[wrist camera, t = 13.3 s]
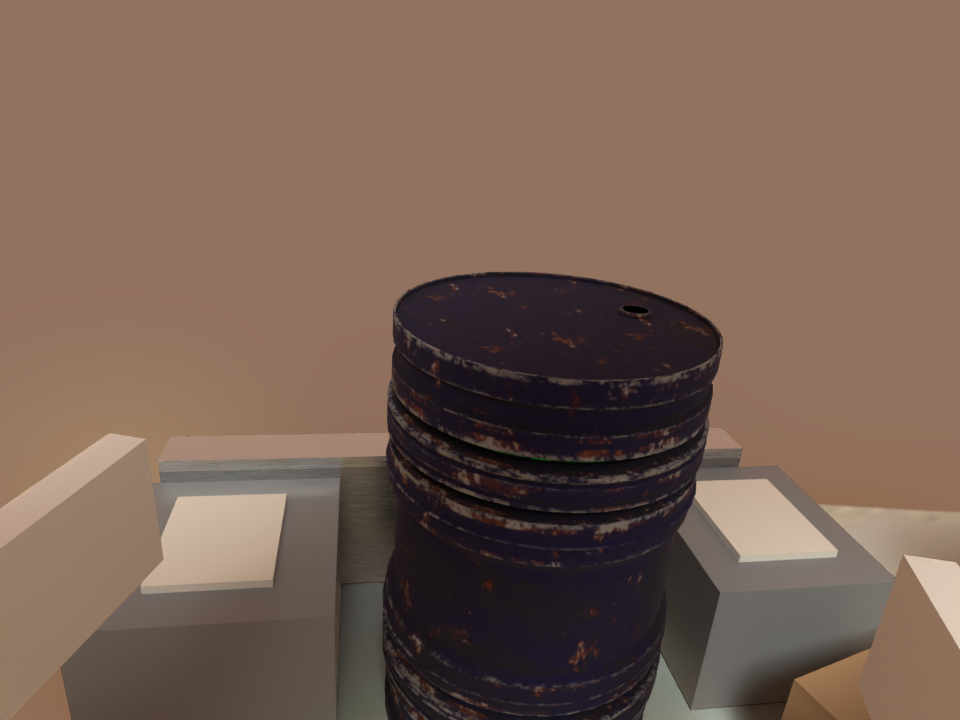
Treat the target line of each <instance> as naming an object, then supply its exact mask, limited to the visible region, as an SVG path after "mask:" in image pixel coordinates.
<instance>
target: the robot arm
mask: <svg viewBox="0 0 960 720" xmlns="http://www.w3.org/2000/svg"><path fill="white" fill-rule="evenodd" d="M163 560H164V557H163V550H162V543H161V537H160V530H159V523H158V516H157V509H156V503H155V496H154V489H153V482H152V475H151V469H150V462H149V456H148V449H147V441H146V439H143V438H136V437H129V436H123V435H116V434H110V433H109V434H108V435H106V436H105V437H103V438H102V439H100V440H99V441H97V442H96V443H94V444H93V445H91V446H90V447H89V448H87V449H86V450H84V451H83V452H81V453H80V454H78V455H77V456H75V457H74V458H72V459H71V460H70V461H68V462H67V463H65V464H64V465H62V466H61V467H59V468H58V469H56V470H55V471H54V472H52V473H51V474H49V475H48V476H46V477H45V478H43V479H42V480H41V481H39V482H38V483H36V484H35V485H33V486H32V487H30V488H29V489H27V490H26V491H24V492H23V493H21V494H20V495H19V496H17V497H16V498H14V499H13V500H11V501H10V502H8V503H7V504H5V505H4V506H3V507H1V508H0V720H10V719H11V718H12V717H13V716H14V715H15V714H16V713H17V712H18V711H19V710H20V709H21V708H22V707H23V706H24V705H25V704H26V703H27V701H28V700H29V699H30V698H31V697H32V696H33V695H34V694H35V693H36V692H37V691H38V690H39V689H40V688H41V687H42V686H43V685H44V684H45V683H46V682H47V681H48V680H49V679H50V678H51V677H52V675H53V674H54V673H55V672H56V671H57V670H58V669H59V668H60V667H61V666H62V665H63V664H64V663H65V662H66V661H67V660H68V659H69V658H70V657H71V656H72V655H73V654H74V653H75V652H76V650H77V649H78V648H79V647H80V646H81V645H82V644H83V643H84V642H85V641H86V640H87V639H88V638H89V637H90V636H91V635H92V634H93V633H94V632H95V631H96V630H97V629H98V628H99V627H100V625H101V624H102V623H103V622H104V621H105V620H106V619H107V618H108V617H109V616H110V615H111V614H112V613H113V612H114V611H115V610H116V609H117V608H118V607H119V606H120V605H121V604H122V603H123V601H124V600H125V599H126V598H127V597H128V596H129V595H130V594H131V593H132V592H133V591H134V590H135V589H136V588H137V587H138V586H139V585H140V584H141V583H142V582H143V581H144V580H145V579H146V578H147V576H148V575H149V574H150V573H151V572H152V571H153V570H154V569H155V568H156V567H157V566H158V565H159V564H160V563H161V562H162V561H163ZM858 687H859V690H860V692H861V695H862V697H863V700H864V702H865V705H866V708H867V710H868V713H869V715H870V718H871V720H960V567H959V565H958V564H957V563H956V562H950V561H943V560H937V559H930V558H924V557H917V556H911V555H903V557H902V560H901V563H900V566H899V569H898V572H897V575H896V577H895V580H894V583H893V586H892V589H891V592H890V594H889V597H888V600H887V603H886V606H885V609H884V612H883V614H882V617H881V620H880V623H879V626H878V629H877V631H876V634H875V637H874V640H873V643H872V646H871V649H870V651H869V654H868V657H867V660H866V663H865V666H864V668H863V671H862V674H861V677H860V680H859V683H858Z"/></svg>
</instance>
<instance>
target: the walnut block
mask: <svg viewBox="0 0 960 720" xmlns="http://www.w3.org/2000/svg"><path fill="white" fill-rule="evenodd" d="M870 649H871V648H870ZM870 649H868V650H865V651H863V652H860V653H858V654H855V655H853V656H851V657H848V658H846V659H843V660H841V661H838V662H836V663H833V664H831V665H828V666H826V667H823V668H821V669H819V670H816V671H814V672H811V673H809V674H806V675H804V676H801V677H799V678H796V679H794V682H793V685H792V688H791V691H790V694H789V697H788V700H787V703H786V706H785V709H784V713H783V716H782V719H781V720H871V718H870V715H869V713H868V710H867V708H866V705H865V702H864V700H863V697H862V695H861V692H860V690H859V687H858V683H859V680H860V677H861V674H862V671H863V668H864V666H865V663H866V660H867V657H868V654H869V651H870Z"/></svg>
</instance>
